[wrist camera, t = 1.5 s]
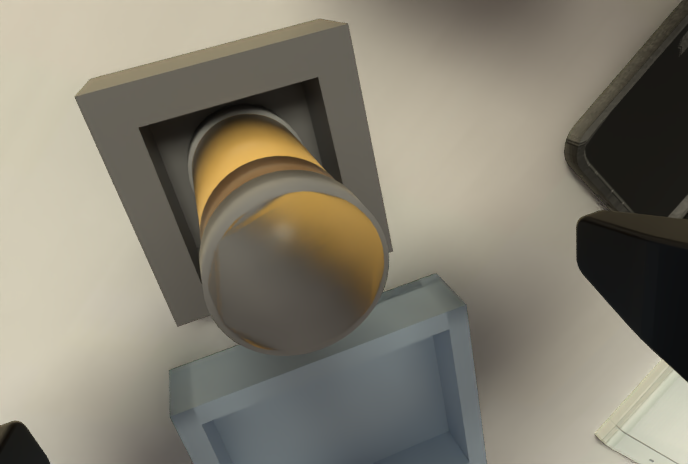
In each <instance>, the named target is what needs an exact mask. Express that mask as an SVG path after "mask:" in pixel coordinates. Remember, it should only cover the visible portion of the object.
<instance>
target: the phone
mask: <svg viewBox="0 0 688 464" xmlns="http://www.w3.org/2000/svg"><path fill="white" fill-rule="evenodd" d="M564 154H565V159H566V161H567V163H568V165H569V166H570V167H571V168H572V169H573V170H574V171H575V173H576V174H577V175H578V176H579V177H580V178H581V179H582V180H583V181H584V182H585V183H586V184H587V186H588V187H589V188H590V189H591V190H592V191H593V192H594V193H595V194H596V195H597V196H598V198H599V199H600V200H601V201H602V202H603V203H604V204H605V205H606V206H607V207H608V208H609V209H610V211H616V212H625V213H635V214H644V215H653V216H662V217H671V218H680V219H688V0H682V2H681V3H680V4H679V5H678V6H677V7H676V8H675V10H674V11H673V12H672V13H671V14H670V15H669V17H668V18H667V19H666V20H665V21H664V22H663V24H662V25H661V26H660V27H659V28H658V29H657V30H656V32H655V33H654V34H653V35H652V36H651V37H650V39H649V40H648V41H647V42H646V43H645V44H644V45H643V47H642V48H641V49H640V50H639V51H638V52H637V54H636V55H635V56H634V57H633V58H632V59H631V61H630V62H629V63H628V64H627V65H626V66H625V67H624V69H623V70H622V71H621V72H620V73H619V74H618V76H617V77H616V78H615V79H614V80H613V81H612V82H611V84H610V85H609V86H608V87H607V88H606V89H605V91H604V92H603V93H602V94H601V95H600V96H599V98H598V99H597V100H596V101H595V102H594V103H593V104H592V106H591V107H590V108H589V109H588V110H587V111H586V113H585V114H584V115H583V116H582V117H581V118H580V119H579V121H578V122H577V123H576V124H575V125H574V127H573V128H572V130H571V131H570V132H569V134H568V137H567V139H566V142H565V148H564ZM580 175H581V176H582V177H581V176H580Z"/></svg>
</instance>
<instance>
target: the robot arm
mask: <svg viewBox="0 0 688 464" xmlns="http://www.w3.org/2000/svg"><path fill="white" fill-rule="evenodd" d="M576 257H577V264H578V267H579V269H580V271H581V272H582V274H583V275H584V276H585V277H586V278H587V280H588V281H589V282H590V283H591V284H592V285H593V286H594V287H595V289H596V290H597V291H598V292H599V293H600V294H601V295H602V296H603V298H604V299H605V300H606V301H607V302H608V303H609V304H610V305H611V307H612V308H613V309H614V310H615V311H616V312H617V313H618V314H619V316H620V317H621V318H622V319H623V320H624V321H625V322H626V323H627V325H628V326H629V327H630V328H631V329H632V330H633V331H634V332H635V333H636V334H637V335H638V336H639V337H640V339H641V340H643V341H644V342H645V343H646V344H647V345H648V346H649V347H650V348H651V349H652V350H653V351H654V352H655V353H656V354H657V355H658V356H659V357H660V358H662V359H663V360H664V361H665V362H666V363H667V364H668V365H669V366H670V367H671V368H672V369H673V370H675V371H676V372H677V373H678V374H679V375H680V376H681V377H682V378H683V379H684V380H685V381H687V382H688V219H680V218H671V217H662V216H653V215H644V214H635V213H625V212H616V211H607V210H601V211H597V212H594V213H591V214H589V215H586V216H583V217H581V218H580V219H579V220H578V222H577V225H576ZM0 464H50V462H49V460H48V458H47V456H46V455H45V453H44V452H43V450H42V449H41V447H40V446H39V444H38V443H37V442H36V440H35V439H34V437H33V436H32V434H31V433H30V431H29V430H28V428H27V427H26V426H25V425H24V424H23V423H22V422H19V421H11V422H9V423H6V424H3V425H0Z"/></svg>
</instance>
